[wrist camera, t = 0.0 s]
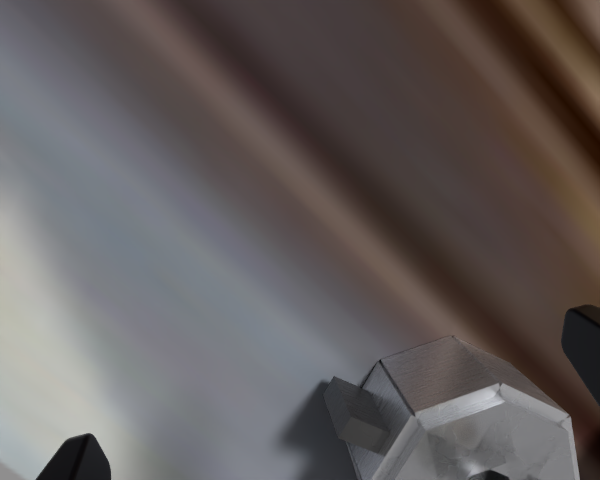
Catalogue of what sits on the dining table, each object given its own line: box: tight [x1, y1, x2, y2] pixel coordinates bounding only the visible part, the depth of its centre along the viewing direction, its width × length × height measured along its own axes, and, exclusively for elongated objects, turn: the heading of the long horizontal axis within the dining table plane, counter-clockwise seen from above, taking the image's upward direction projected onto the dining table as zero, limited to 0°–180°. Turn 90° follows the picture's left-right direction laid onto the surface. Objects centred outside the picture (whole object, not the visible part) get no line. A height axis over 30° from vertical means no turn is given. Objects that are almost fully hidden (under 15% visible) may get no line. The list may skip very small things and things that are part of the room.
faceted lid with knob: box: [323, 336, 580, 480], centre depth 25 cm, size 10×13×6 cm
